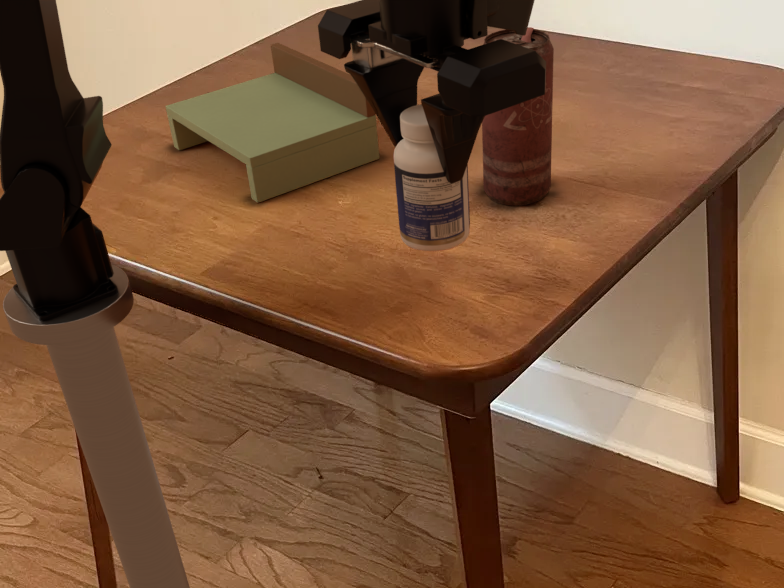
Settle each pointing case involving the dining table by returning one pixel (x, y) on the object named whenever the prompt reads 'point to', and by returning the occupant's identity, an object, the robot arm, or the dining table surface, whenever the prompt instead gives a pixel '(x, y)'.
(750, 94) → the dining table surface
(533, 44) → the can
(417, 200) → the pill bottle
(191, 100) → the shelf
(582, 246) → the dining table surface
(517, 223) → the dining table surface
